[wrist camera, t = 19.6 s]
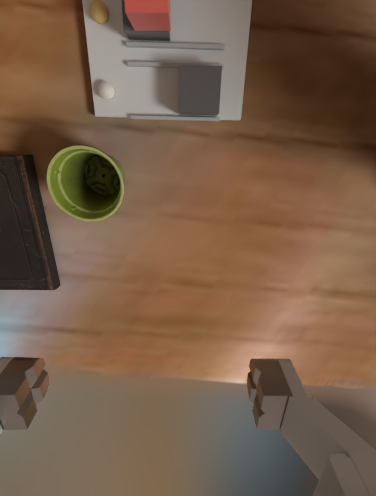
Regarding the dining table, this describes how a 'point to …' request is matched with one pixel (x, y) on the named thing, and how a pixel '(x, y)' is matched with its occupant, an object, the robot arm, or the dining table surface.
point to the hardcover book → (24, 229)
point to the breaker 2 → (199, 89)
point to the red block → (149, 14)
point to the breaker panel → (166, 58)
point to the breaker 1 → (142, 34)
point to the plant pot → (85, 183)
